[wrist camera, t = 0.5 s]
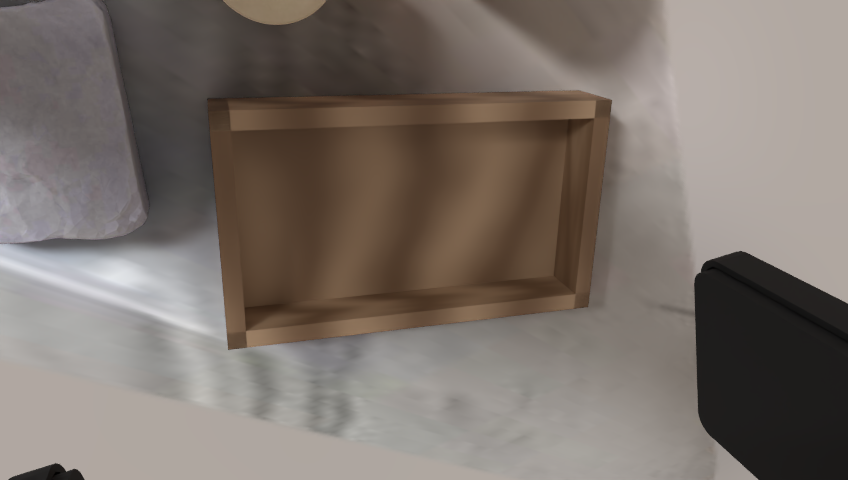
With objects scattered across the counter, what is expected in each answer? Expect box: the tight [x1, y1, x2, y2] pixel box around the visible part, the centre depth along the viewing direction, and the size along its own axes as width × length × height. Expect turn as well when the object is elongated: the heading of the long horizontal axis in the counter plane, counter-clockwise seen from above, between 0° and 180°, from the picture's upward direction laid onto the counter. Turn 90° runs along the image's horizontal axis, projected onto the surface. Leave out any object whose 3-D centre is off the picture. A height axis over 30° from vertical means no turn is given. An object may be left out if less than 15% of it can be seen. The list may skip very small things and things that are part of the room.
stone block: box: [0, 0, 150, 244], centre depth 34 cm, size 12×5×10 cm
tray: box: [207, 90, 612, 350], centre depth 40 cm, size 22×13×4 cm, turn 89°
